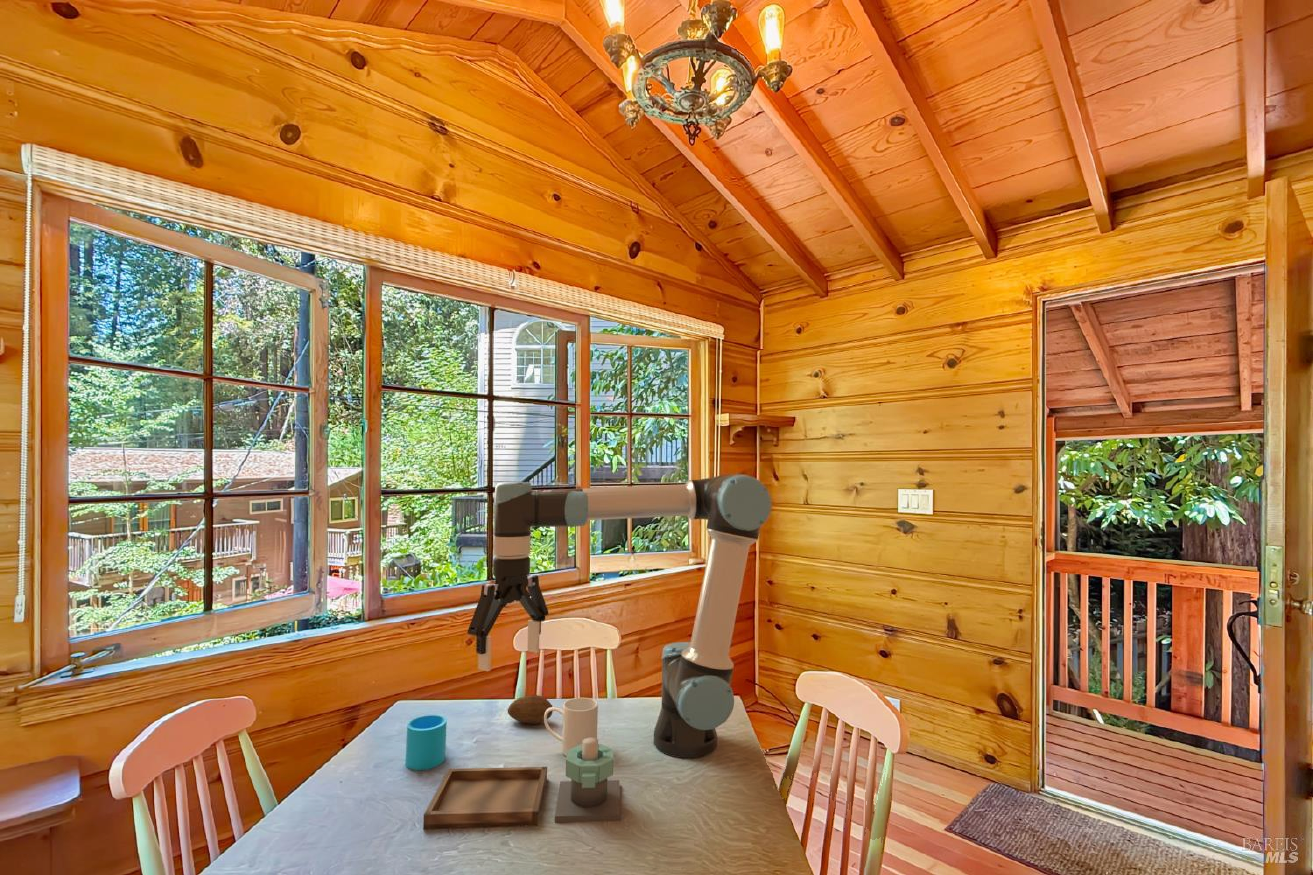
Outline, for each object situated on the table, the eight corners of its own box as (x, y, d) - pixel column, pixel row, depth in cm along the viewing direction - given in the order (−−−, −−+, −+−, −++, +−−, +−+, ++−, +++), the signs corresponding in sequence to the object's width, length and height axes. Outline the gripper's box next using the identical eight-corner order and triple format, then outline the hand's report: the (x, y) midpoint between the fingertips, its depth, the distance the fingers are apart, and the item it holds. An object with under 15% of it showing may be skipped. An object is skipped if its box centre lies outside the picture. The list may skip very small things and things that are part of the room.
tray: (546, 779, 120) (547, 766, 120) (537, 825, 104) (537, 811, 104) (448, 781, 118) (448, 768, 118) (423, 829, 102) (423, 814, 102)
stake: (619, 784, 118) (620, 727, 119) (620, 819, 106) (621, 755, 107) (560, 786, 117) (561, 728, 118) (554, 821, 105) (556, 756, 106)
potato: (510, 716, 150) (511, 689, 151) (555, 717, 150) (555, 690, 151) (504, 728, 143) (505, 699, 144) (551, 728, 144) (552, 700, 144)
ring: (612, 758, 117) (613, 743, 117) (613, 786, 106) (613, 770, 106) (567, 759, 116) (568, 744, 116) (563, 788, 105) (564, 771, 106)
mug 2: (596, 742, 137) (597, 696, 137) (597, 758, 129) (598, 710, 130) (544, 744, 135) (545, 698, 136) (541, 760, 127) (543, 712, 128)
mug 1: (434, 771, 122) (436, 731, 123) (397, 768, 123) (399, 729, 124) (458, 745, 134) (460, 709, 135) (425, 742, 135) (426, 707, 135)
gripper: (540, 548, 133) (538, 642, 131) (450, 562, 111) (447, 674, 110) (565, 550, 129) (564, 647, 127) (476, 565, 108) (474, 682, 106)
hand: (509, 660), depth 119 cm, fingers open, 13 cm apart
